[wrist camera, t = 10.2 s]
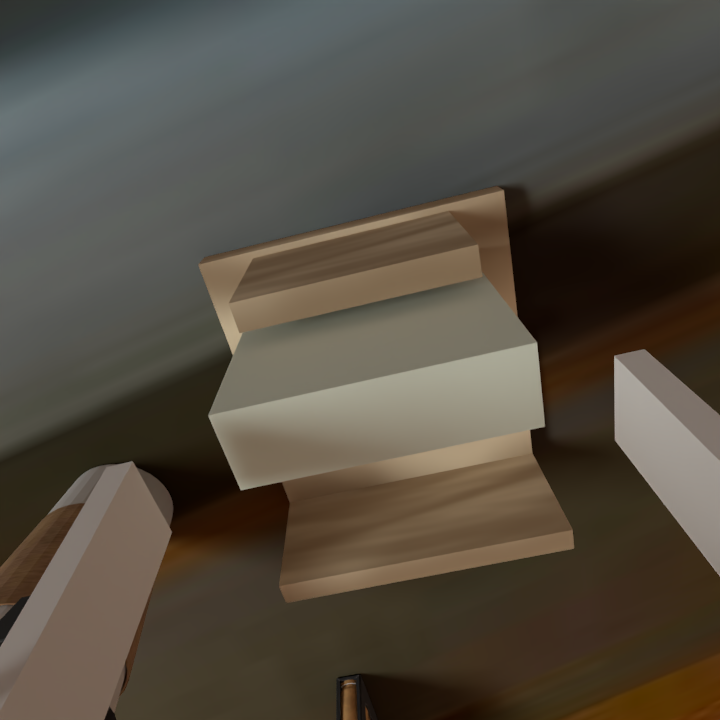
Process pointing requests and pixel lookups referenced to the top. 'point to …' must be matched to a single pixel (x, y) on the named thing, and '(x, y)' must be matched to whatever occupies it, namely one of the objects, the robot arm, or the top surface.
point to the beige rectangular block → (377, 384)
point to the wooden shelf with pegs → (412, 472)
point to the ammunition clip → (353, 700)
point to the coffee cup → (39, 548)
